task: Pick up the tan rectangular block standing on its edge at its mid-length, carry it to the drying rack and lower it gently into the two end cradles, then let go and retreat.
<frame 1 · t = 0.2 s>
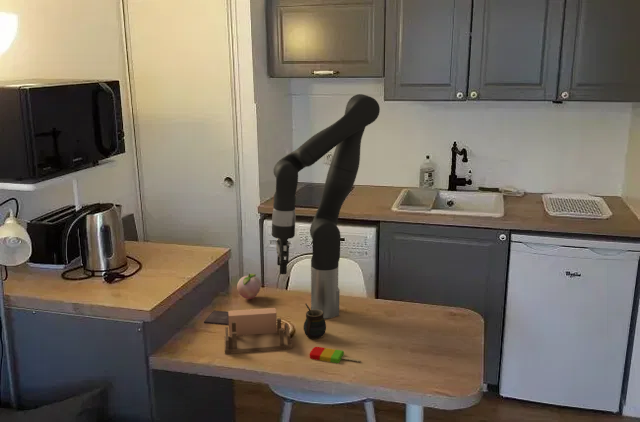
hand: (281, 269, 196), 17 cm above the table, tool pointing down, fingers open, 8 cm apart
decorative fruit: (249, 299, 215), on the table
mate gourd: (314, 336, 188), on the table
chocolate bar: (234, 321, 199), on the table
popsicle: (335, 360, 174), on the table
tan rectangular block: (252, 332, 191), on the table
rack: (257, 344, 182), on the table
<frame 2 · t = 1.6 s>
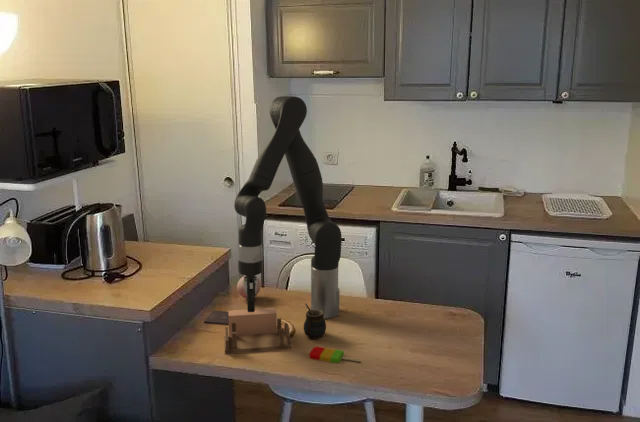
hand: (250, 306, 189), 9 cm above the table, tool pointing down, fingers open, 8 cm apart
nothing on the table moved.
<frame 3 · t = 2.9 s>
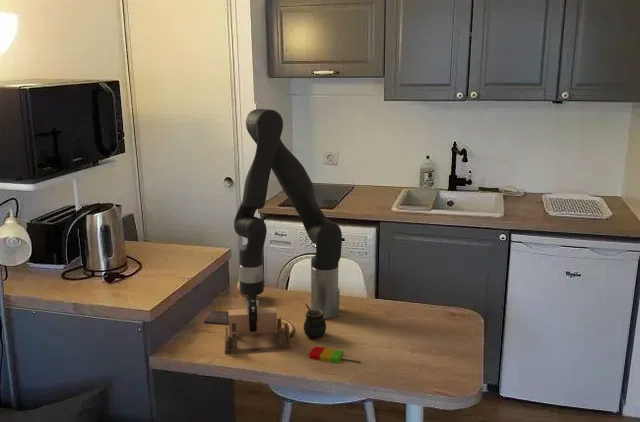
hand: (252, 327, 190), 1 cm above the table, tool pointing down, fingers closed on tan rectangular block, 4 cm apart
tan rectangular block: (253, 331, 191), on the table, touching gripper
everything else where it was.
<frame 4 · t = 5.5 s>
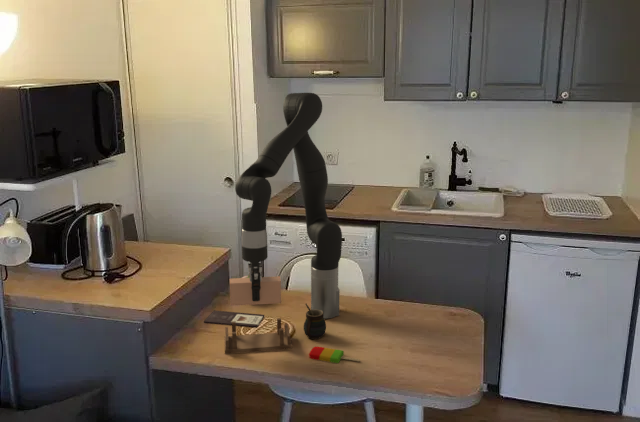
hand: (255, 297, 178), 15 cm above the table, tool pointing down, fingers closed on tan rectangular block, 4 cm apart
tan rectangular block: (255, 301, 179), point 14 cm above the table, touching gripper
everything else where it was.
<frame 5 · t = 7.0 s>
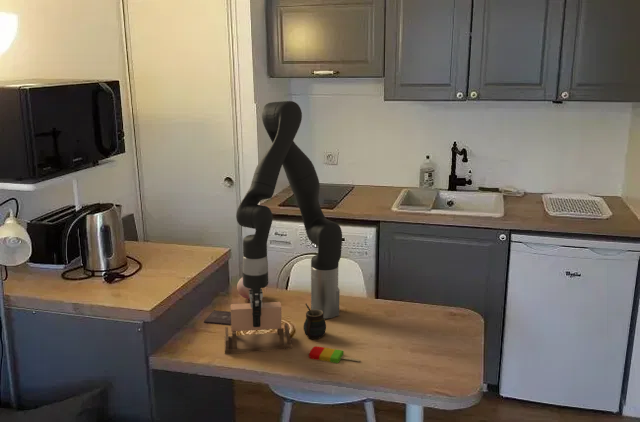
hand: (256, 323, 180), 7 cm above the table, tool pointing down, fingers closed on tan rectangular block, 4 cm apart
tan rectangular block: (256, 327, 181), point 6 cm above the table, touching gripper
everything else where it was.
when the fingers open (4 cm above the table, at t = 8.3 s): tan rectangular block drops 2 cm, resting on rack.
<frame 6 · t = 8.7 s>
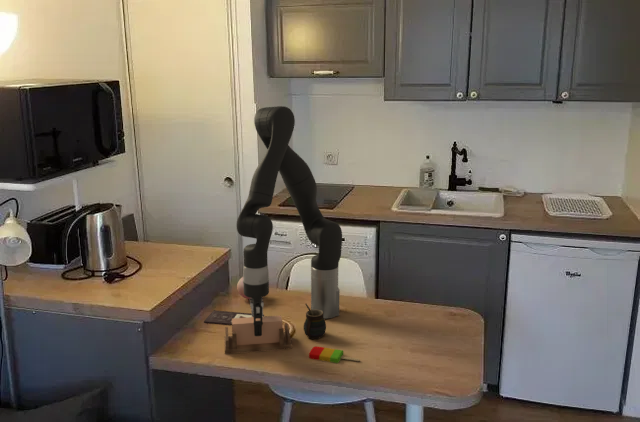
hand: (257, 329, 181), 5 cm above the table, tool pointing down, fingers open, 7 cm apart
tan rectangular block: (257, 340, 182), point 1 cm above the table, touching rack
everything else where it was.
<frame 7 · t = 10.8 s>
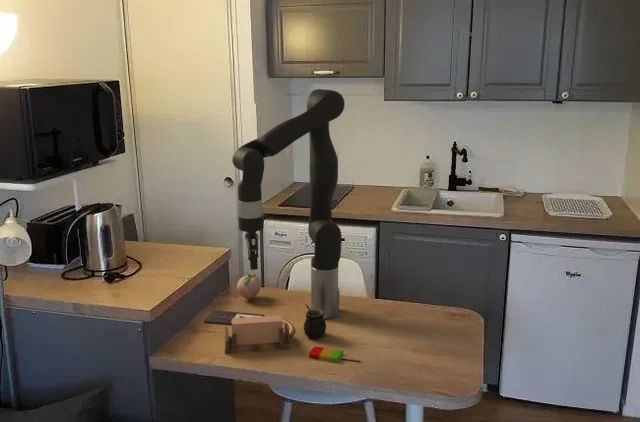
hand: (252, 264, 184), 23 cm above the table, tool pointing down, fingers open, 8 cm apart
nothing on the table moved.
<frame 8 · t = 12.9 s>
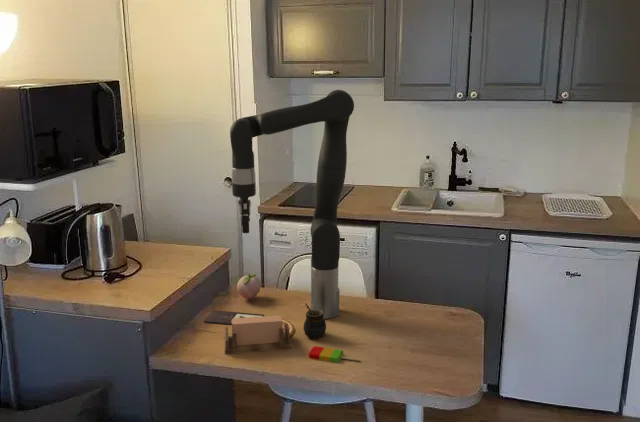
hand: (245, 229, 196), 30 cm above the table, tool pointing down, fingers open, 8 cm apart
nothing on the table moved.
at the end: tan rectangular block 0.0 cm off-centre on the rack, point 1.2 cm above the rack's base; tan rectangular block tilted 0°; the gripper is holding nothing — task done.
